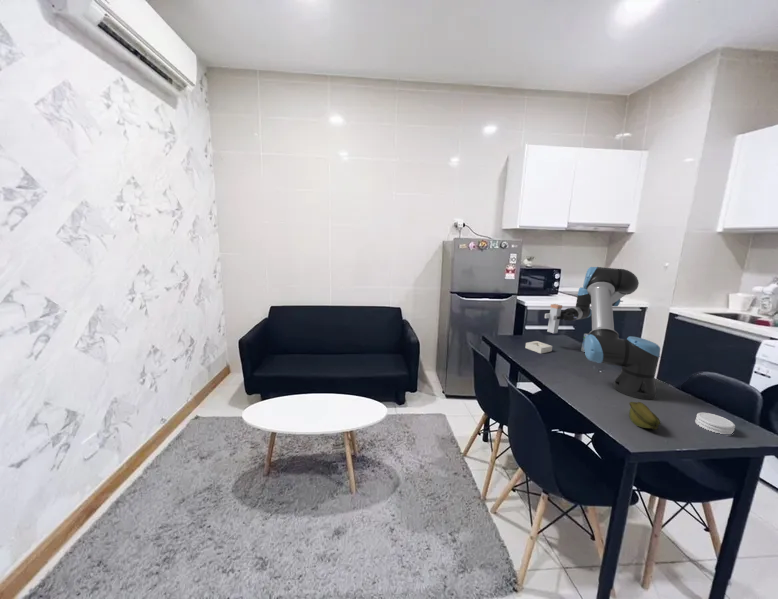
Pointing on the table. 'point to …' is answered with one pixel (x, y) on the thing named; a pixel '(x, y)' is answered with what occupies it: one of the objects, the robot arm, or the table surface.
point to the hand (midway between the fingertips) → (549, 317)
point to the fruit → (643, 416)
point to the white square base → (538, 347)
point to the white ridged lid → (715, 423)
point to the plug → (554, 324)
